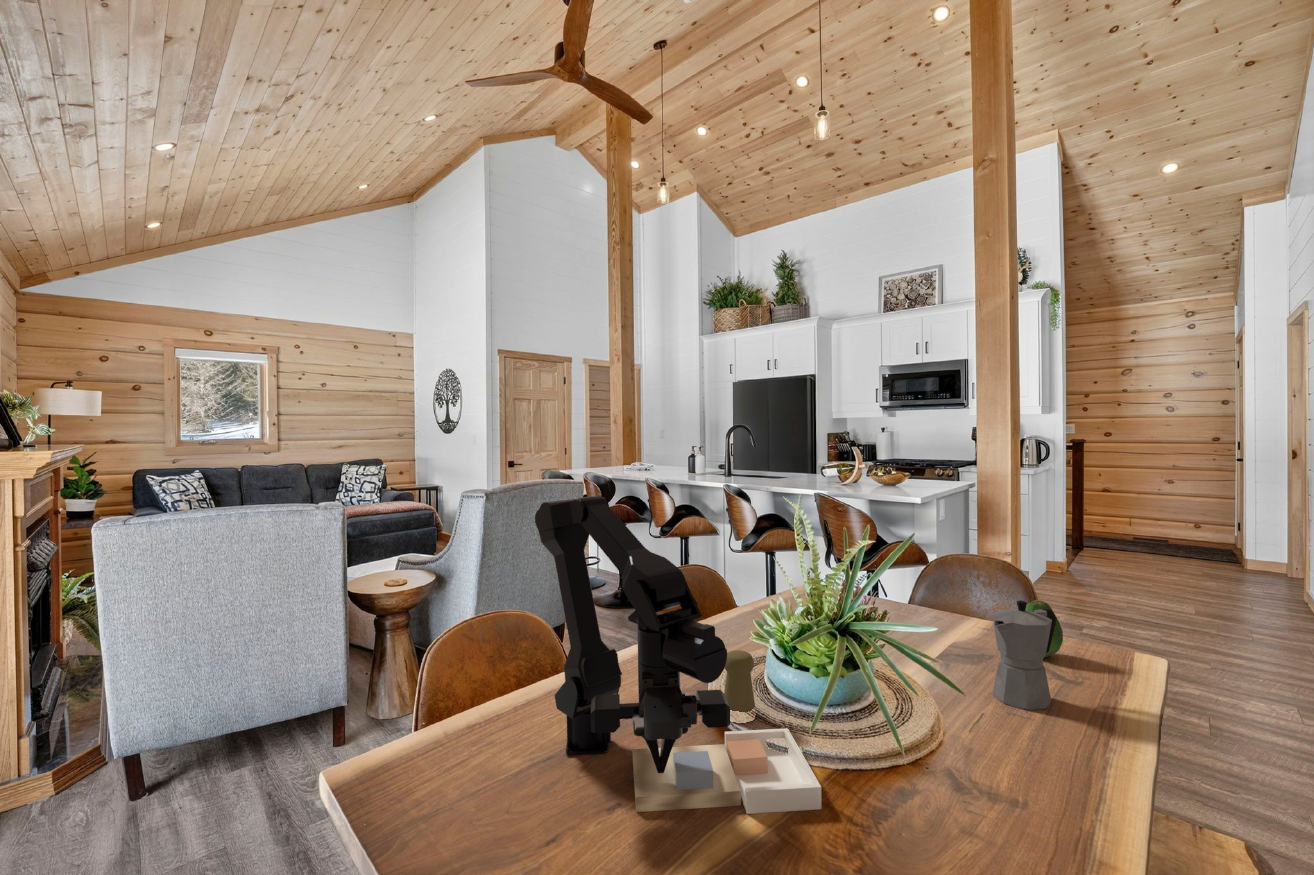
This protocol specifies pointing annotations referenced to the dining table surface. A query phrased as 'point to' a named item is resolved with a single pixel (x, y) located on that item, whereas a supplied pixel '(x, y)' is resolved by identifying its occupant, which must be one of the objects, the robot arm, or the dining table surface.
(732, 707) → the cork
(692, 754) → the grey-blue rounded block
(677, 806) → the board
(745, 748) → the tile terracotta
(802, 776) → the tray
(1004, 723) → the dining table surface
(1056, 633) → the avocado
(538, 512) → the robot arm
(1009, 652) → the coffeepot
